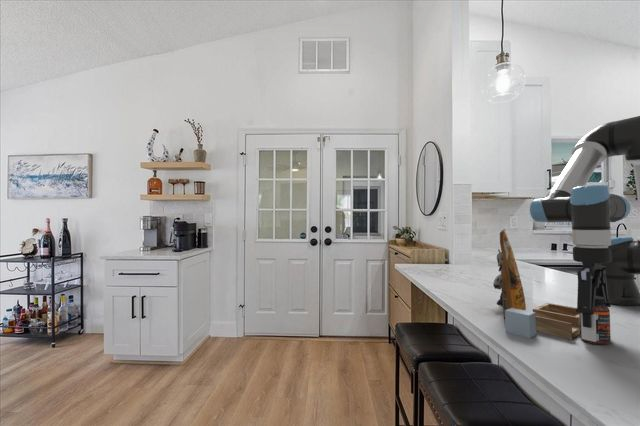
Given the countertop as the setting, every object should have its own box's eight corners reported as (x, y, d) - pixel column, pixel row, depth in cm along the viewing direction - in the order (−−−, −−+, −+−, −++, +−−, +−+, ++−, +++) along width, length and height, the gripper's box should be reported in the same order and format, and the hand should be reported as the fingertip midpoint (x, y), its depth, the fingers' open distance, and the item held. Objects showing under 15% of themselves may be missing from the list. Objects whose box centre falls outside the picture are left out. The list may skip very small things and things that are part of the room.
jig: (545, 315, 103) (545, 302, 103) (593, 324, 93) (592, 310, 93) (520, 327, 92) (520, 313, 92) (571, 339, 82) (571, 323, 82)
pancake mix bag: (494, 320, 98) (491, 230, 99) (505, 306, 113) (503, 227, 114) (520, 325, 94) (517, 230, 95) (528, 309, 109) (525, 227, 109)
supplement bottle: (602, 347, 77) (600, 300, 77) (574, 339, 82) (573, 295, 83) (616, 343, 79) (614, 297, 80) (588, 335, 85) (586, 292, 85)
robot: (506, 310, 108) (504, 251, 109) (490, 308, 112) (488, 250, 112) (519, 299, 123) (517, 247, 123) (504, 297, 126) (503, 246, 127)
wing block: (512, 328, 91) (511, 307, 91) (536, 334, 86) (535, 312, 86) (505, 332, 89) (504, 310, 89) (529, 338, 84) (528, 315, 84)
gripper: (586, 242, 91) (589, 323, 90) (557, 248, 78) (561, 341, 78) (622, 244, 85) (625, 330, 84) (597, 250, 72) (601, 351, 72)
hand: (594, 335), depth 81 cm, fingers open, 9 cm apart
